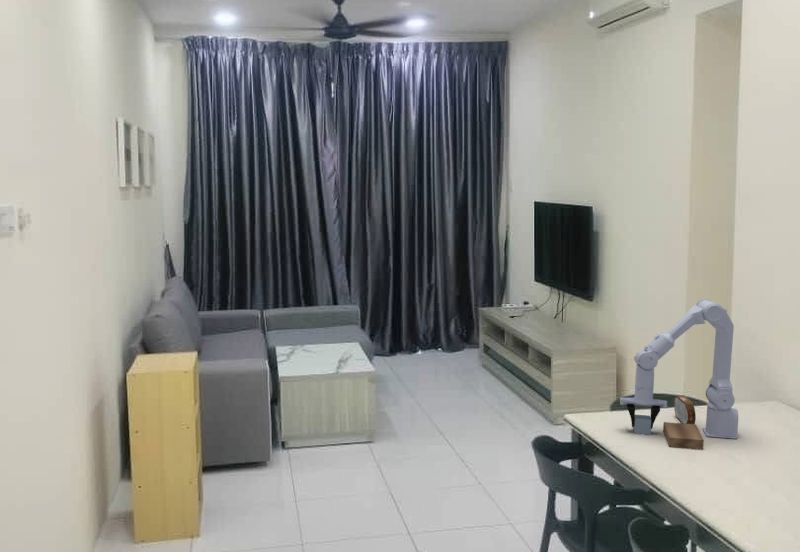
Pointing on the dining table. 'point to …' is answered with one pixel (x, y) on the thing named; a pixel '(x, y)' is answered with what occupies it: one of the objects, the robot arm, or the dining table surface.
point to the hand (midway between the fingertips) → (642, 427)
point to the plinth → (683, 435)
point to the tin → (684, 410)
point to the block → (642, 424)
